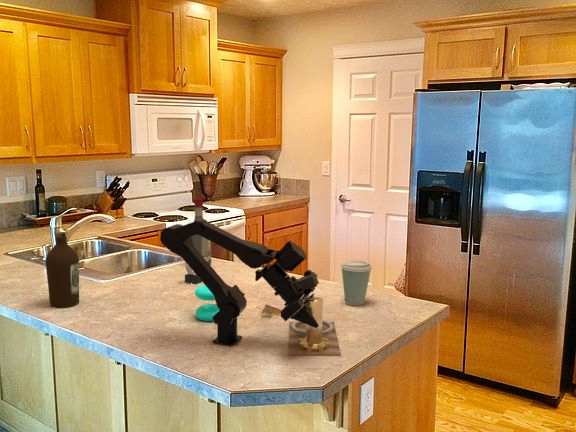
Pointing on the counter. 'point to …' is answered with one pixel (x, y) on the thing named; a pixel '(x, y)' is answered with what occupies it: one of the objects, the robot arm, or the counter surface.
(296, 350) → the carrier plate
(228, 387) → the counter surface
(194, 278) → the watch
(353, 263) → the disposable coffee cup
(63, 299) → the olive oil
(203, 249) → the liquor
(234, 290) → the robot arm
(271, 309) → the shard
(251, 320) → the counter surface
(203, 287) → the turquoise yo-yo shaped spool
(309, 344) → the gold piece
